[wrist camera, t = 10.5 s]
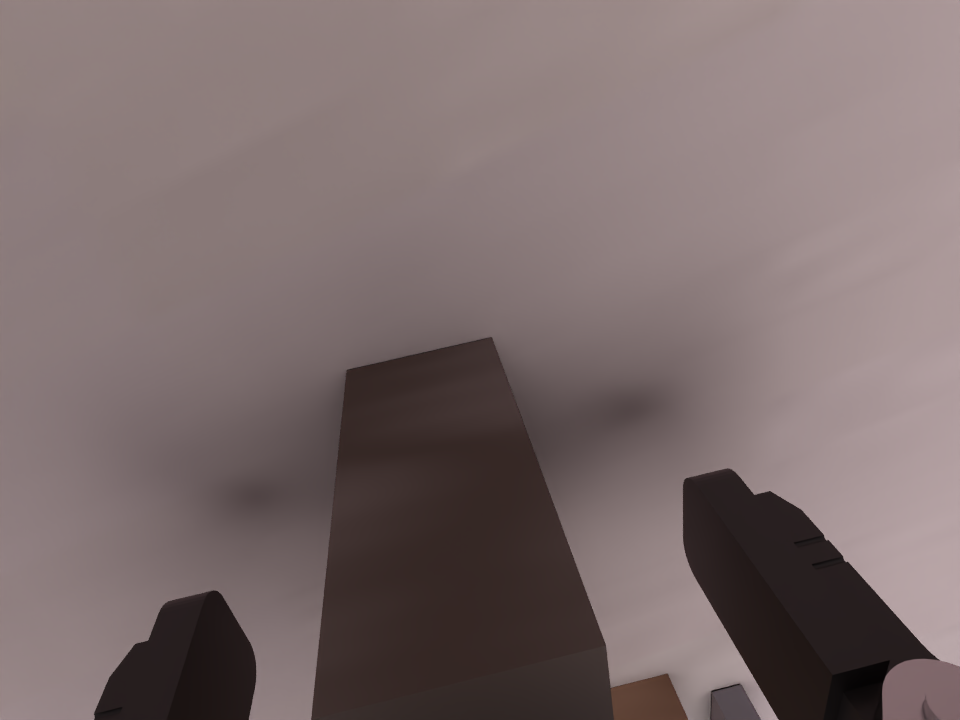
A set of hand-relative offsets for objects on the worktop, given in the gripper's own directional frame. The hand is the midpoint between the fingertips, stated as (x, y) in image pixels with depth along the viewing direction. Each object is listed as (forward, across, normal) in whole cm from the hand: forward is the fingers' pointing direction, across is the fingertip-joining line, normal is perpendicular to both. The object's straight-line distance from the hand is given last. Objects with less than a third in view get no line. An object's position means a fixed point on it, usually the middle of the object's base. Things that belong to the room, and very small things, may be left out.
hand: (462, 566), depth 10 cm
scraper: (+3, 0, +5) cm, 6 cm away
